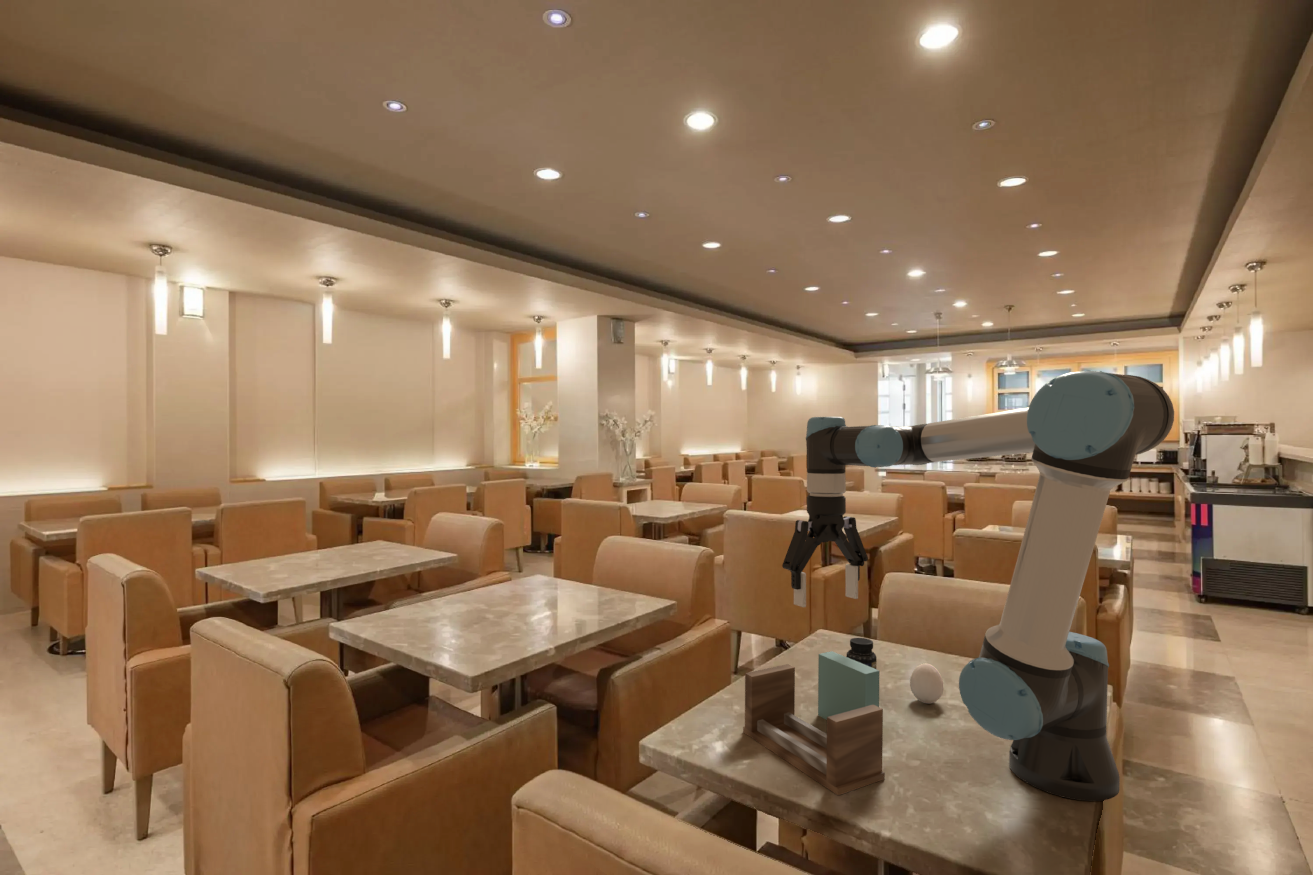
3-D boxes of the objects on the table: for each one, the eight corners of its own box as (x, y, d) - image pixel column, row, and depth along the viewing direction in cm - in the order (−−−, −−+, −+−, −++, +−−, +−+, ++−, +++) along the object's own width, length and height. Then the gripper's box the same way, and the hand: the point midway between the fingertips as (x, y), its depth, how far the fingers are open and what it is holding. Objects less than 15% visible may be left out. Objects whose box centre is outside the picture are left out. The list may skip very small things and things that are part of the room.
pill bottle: (878, 699, 137) (878, 646, 137) (847, 697, 138) (847, 644, 138) (874, 688, 143) (874, 637, 143) (845, 685, 144) (845, 635, 144)
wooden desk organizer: (884, 778, 106) (885, 710, 105) (838, 795, 101) (838, 723, 101) (785, 720, 127) (786, 663, 126) (743, 731, 122) (743, 672, 122)
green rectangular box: (878, 736, 120) (879, 670, 120) (864, 740, 119) (865, 673, 119) (831, 711, 131) (831, 651, 131) (818, 715, 129) (818, 653, 129)
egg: (922, 693, 140) (922, 656, 140) (950, 704, 135) (950, 665, 134) (903, 700, 136) (903, 661, 136) (930, 711, 131) (931, 671, 131)
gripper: (858, 490, 141) (858, 590, 141) (764, 495, 129) (764, 604, 129) (885, 493, 135) (886, 597, 134) (789, 498, 123) (789, 613, 123)
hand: (826, 601), depth 132 cm, fingers open, 13 cm apart
